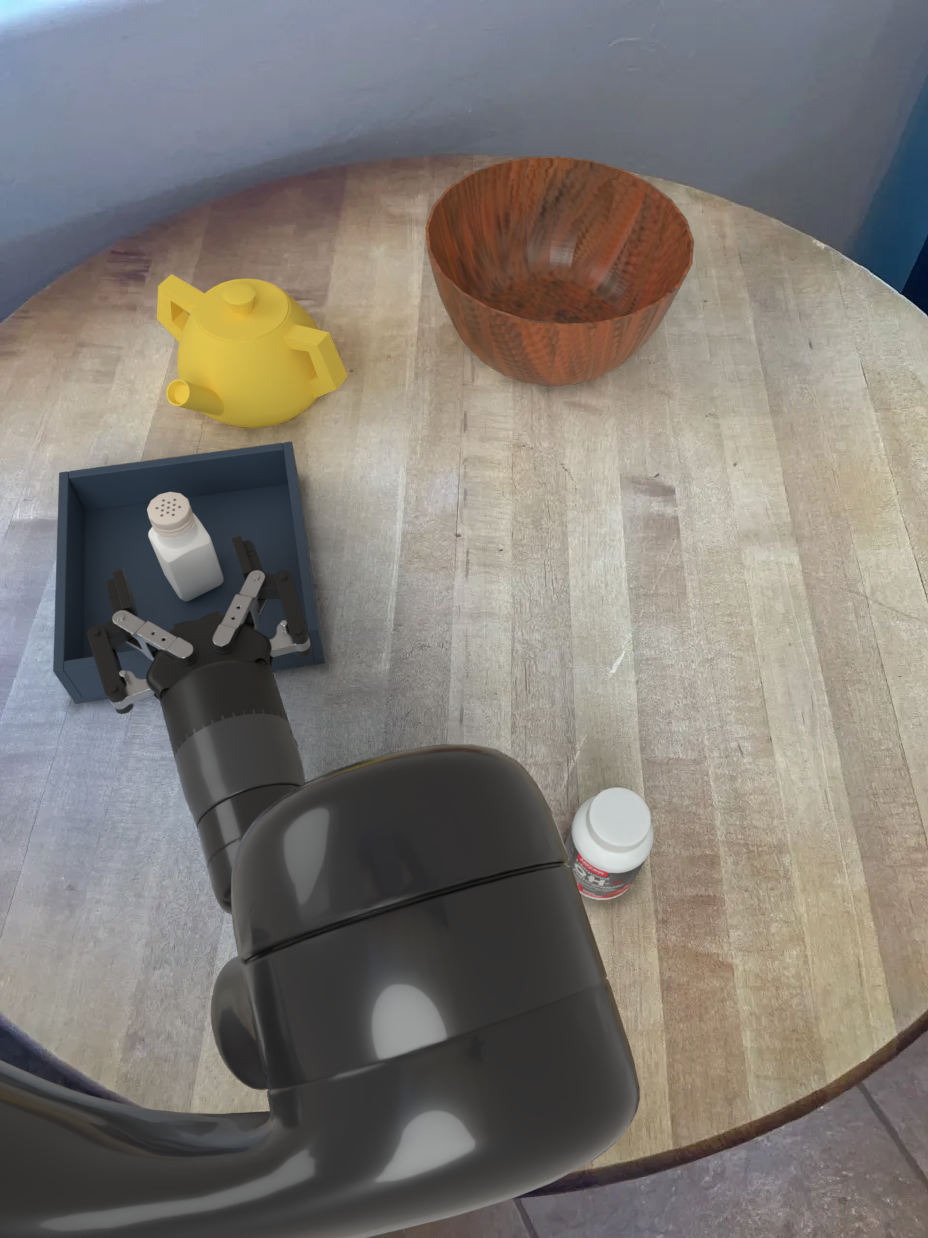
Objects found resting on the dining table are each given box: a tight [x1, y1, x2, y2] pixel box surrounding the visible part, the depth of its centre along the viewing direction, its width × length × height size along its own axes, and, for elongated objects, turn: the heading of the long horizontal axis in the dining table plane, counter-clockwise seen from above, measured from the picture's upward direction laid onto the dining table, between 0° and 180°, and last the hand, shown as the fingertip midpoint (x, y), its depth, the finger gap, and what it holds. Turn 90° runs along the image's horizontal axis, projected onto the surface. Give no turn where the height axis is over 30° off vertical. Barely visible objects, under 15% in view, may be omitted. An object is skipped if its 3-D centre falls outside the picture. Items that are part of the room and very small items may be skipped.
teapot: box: [156, 273, 349, 429], centre depth 88 cm, size 20×18×11 cm
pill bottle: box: [564, 786, 655, 901], centre depth 65 cm, size 5×5×10 cm
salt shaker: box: [147, 492, 224, 602], centre depth 77 cm, size 4×4×10 cm
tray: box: [52, 441, 326, 704], centre depth 79 cm, size 20×20×5 cm
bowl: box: [424, 155, 695, 387], centre depth 94 cm, size 25×25×11 cm
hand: (179, 558), depth 70 cm, fingers open, 8 cm apart
